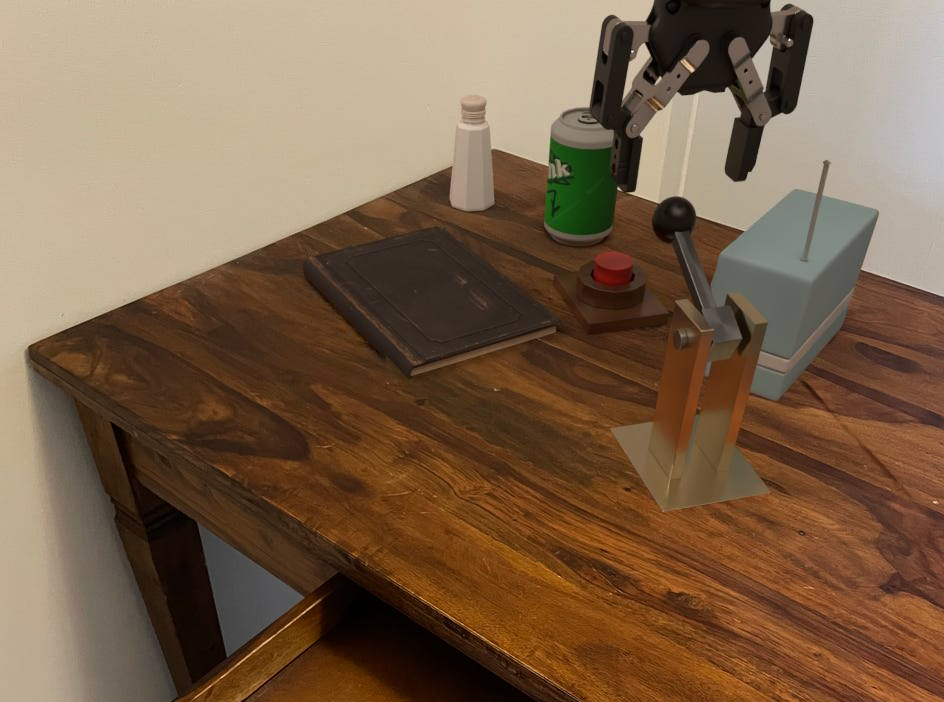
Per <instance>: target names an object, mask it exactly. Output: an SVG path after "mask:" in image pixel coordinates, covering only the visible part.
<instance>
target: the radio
mask: <svg viewBox="0 0 944 702" xmlns="http://www.w3.org/2000/svg"><path fill="white" fill-rule="evenodd" d="M822 164H823V165H822V170H821V175H820V178H819V179H820V180H819V183H818V188H817V191H816V192H811V191H808V190H804V189H800V188H794V189H792V190H791V191H790V192H788V194H786V195H785V196H784V197H783V198H781V199H780V200H779V201H778V202H777V203H776V204H775V205H774V206H772V207H771V208H770V209H769V210H768V211H767V212H765V213H764V214H763V215H762V216H760V218H758V220H756V221H755V222H753V224H752V225H750V226H749V227H748V228H747V229H746V230H745V231H744V232H742V233H741V234H739V236H738V237H737V238H735V240H733V241H732V242H731V243H729V245H727V246H726V247H725V248H724V249H723V250H722V251H721V252H720V253H719V255H718V258H717V263H716V266H715V267H716V268H715V272H714V273H713V277H712V280H711V282H710V284H709V287H710V289H711V292H712V295H713V298H714V300H715V303H716V306H717V307H722V306H724V305H725V300H726V296H727V293H733V292H740V293H741V294H742V295H743V296H744V297H745V298H746V299H747V300H748V301H749V302H750V303H751V304H752V305H753V306H754V307H755V308H756V310H757V311H758V312H759V313H760V314H761V315H762V316H763V317H764V318H765V319H766V320H767V321H768V325H767V329H766V333H765V336H764V340H763V344H762V348H761V351H760V355H759V359H758V362H757V366H756V370H755V374H754V377H753V381H752V385H751V389H750V392H749V393H750V394H754V395H757V396H760V397H763V398H765V399H767V400H771V401H774V402H778V401H779V400H780V399H781V398H782V397H783V395H785V393H786V392H787V391H788V390H789V389H790V388H791V387H792V385H793V384H794V383H795V382H796V381H797V380H798V379H799V377H801V375H802V374H803V373H804V372H805V370H806V369H807V368H808V367H809V366H810V364H811V363H812V362H813V361H814V360H815V359H816V358H817V356H819V354H820V353H821V352H822V351H823V350H824V348H825V347H826V346H827V345H828V344H829V342H831V340H832V339H833V338H834V337H835V336H836V334H837V333H838V332H839V331H840V329H841V328H842V327H843V325H844V322H845V320H846V316H847V314H848V311H849V307H850V304H851V300H852V298H853V295H854V292H855V289H856V288H855V287H856V285H857V283H858V280H859V277H860V274H861V271H862V267H863V265H864V262H865V258H866V255H867V252H868V250H869V247H870V243H871V241H872V238H873V234H874V233H875V232H874V231H875V229H876V225H877V222H878V219H879V216H880V211H879V209H876V208H873V207H869V206H866V205H863V204H858V203H854V202H850V201H846V200H842V199H838V198H835V197H830V196H827V195H823V194H824V189H825V186H826V181H827V177H828V172H829V169H830V165H832V162H831V161H829V159H825V160H823V161H822ZM711 362H712V361H711ZM711 362H707V365H706V370H705V374H704V377H706V378H708V375H709V371H710V366H711Z"/></svg>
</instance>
